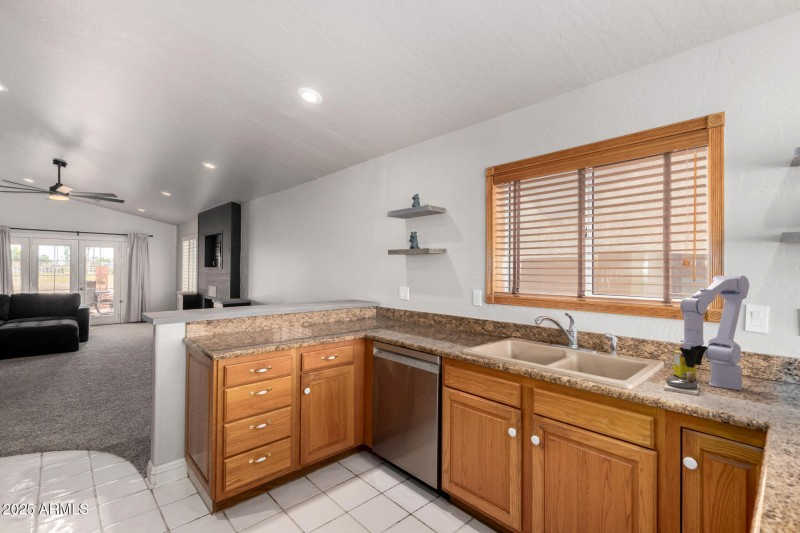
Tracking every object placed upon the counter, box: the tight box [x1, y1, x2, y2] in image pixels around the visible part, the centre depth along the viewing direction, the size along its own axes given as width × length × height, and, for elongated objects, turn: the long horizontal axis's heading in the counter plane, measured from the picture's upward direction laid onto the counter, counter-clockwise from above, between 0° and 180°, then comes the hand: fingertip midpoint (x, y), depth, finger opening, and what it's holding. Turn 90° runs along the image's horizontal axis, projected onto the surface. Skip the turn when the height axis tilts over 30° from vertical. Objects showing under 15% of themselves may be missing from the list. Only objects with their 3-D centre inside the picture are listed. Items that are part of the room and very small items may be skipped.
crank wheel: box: [665, 372, 699, 389], centre depth 144 cm, size 10×10×5 cm
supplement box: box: [672, 350, 697, 381], centre depth 159 cm, size 6×6×11 cm
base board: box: [663, 382, 700, 396], centre depth 144 cm, size 10×13×1 cm
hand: (693, 366), depth 141 cm, fingers open, 6 cm apart
